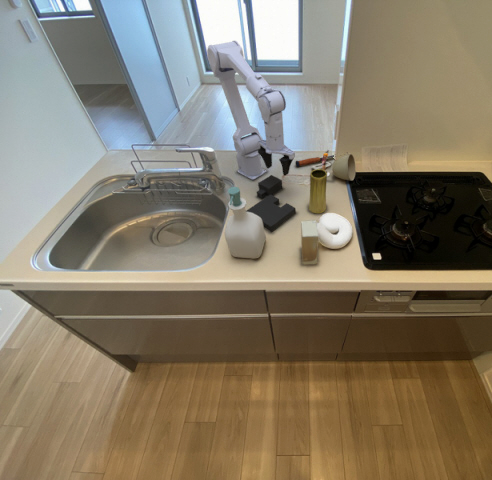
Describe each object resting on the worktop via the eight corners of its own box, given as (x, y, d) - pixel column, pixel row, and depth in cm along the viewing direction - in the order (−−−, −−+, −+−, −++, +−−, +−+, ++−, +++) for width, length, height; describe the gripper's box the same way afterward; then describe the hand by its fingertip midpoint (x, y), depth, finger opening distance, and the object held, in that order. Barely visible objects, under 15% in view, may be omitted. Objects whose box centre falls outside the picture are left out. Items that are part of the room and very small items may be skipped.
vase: (328, 204, 100) (330, 170, 90) (323, 215, 96) (325, 180, 86) (311, 201, 102) (312, 166, 91) (306, 211, 98) (306, 176, 88)
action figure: (323, 164, 118) (323, 143, 111) (329, 164, 118) (330, 144, 111) (318, 181, 111) (318, 160, 103) (326, 181, 110) (326, 161, 103)
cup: (334, 150, 110) (352, 148, 107) (340, 171, 117) (357, 170, 114) (327, 165, 105) (346, 163, 101) (334, 186, 111) (351, 185, 108)
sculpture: (354, 221, 94) (357, 203, 88) (348, 255, 84) (351, 236, 78) (319, 216, 96) (320, 197, 90) (309, 247, 86) (309, 229, 80)
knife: (353, 156, 122) (347, 154, 126) (352, 150, 121) (347, 148, 125) (298, 168, 115) (294, 166, 119) (297, 161, 114) (293, 159, 118)
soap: (326, 161, 121) (326, 159, 120) (333, 165, 118) (333, 163, 117) (309, 167, 116) (309, 165, 115) (316, 170, 113) (316, 168, 112)
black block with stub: (254, 195, 105) (253, 186, 102) (272, 183, 110) (271, 174, 107) (264, 200, 102) (263, 192, 99) (282, 188, 107) (282, 180, 104)
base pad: (246, 216, 96) (245, 211, 94) (271, 199, 103) (270, 194, 101) (271, 232, 91) (270, 226, 89) (295, 213, 97) (295, 207, 95)
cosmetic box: (301, 249, 86) (300, 219, 77) (315, 248, 86) (316, 219, 77) (302, 265, 81) (301, 236, 73) (317, 265, 82) (318, 235, 73)
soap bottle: (229, 259, 84) (208, 201, 66) (238, 235, 90) (220, 176, 72) (261, 261, 83) (247, 204, 65) (267, 237, 89) (257, 178, 71)
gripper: (248, 132, 89) (254, 169, 99) (284, 145, 84) (286, 183, 93) (263, 124, 93) (267, 160, 103) (298, 136, 87) (299, 173, 97)
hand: (277, 170), depth 99 cm, fingers open, 7 cm apart
